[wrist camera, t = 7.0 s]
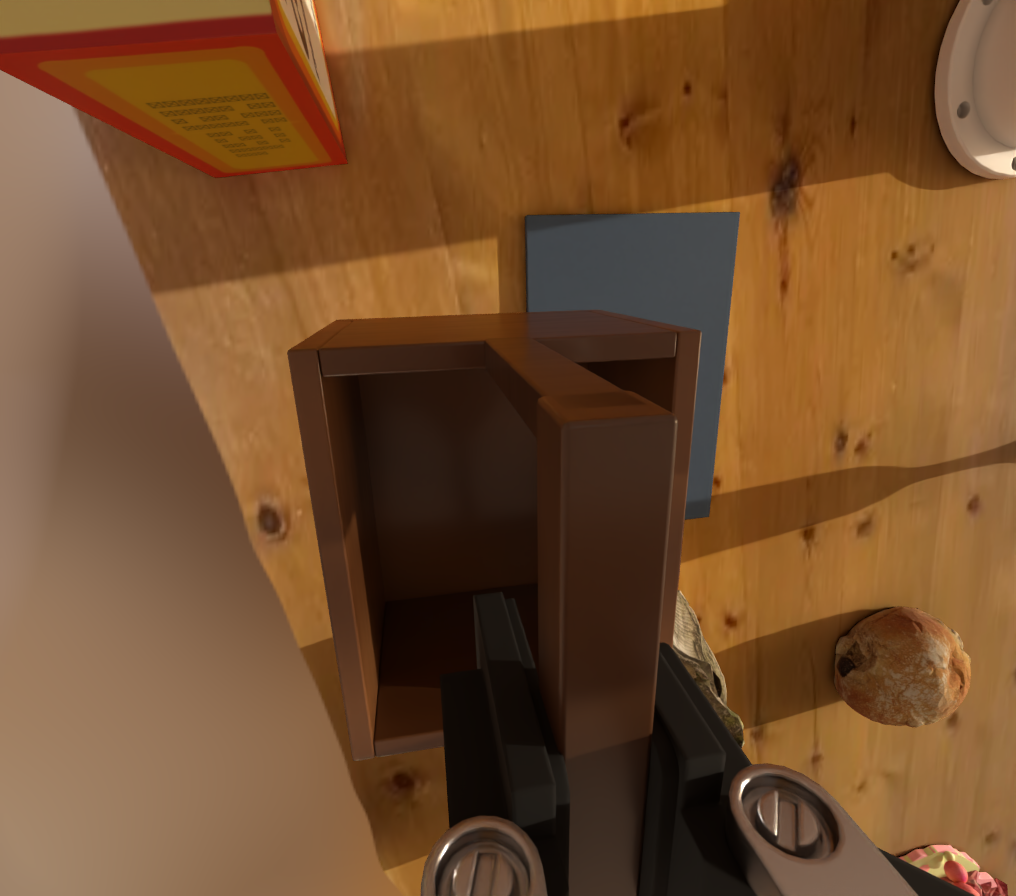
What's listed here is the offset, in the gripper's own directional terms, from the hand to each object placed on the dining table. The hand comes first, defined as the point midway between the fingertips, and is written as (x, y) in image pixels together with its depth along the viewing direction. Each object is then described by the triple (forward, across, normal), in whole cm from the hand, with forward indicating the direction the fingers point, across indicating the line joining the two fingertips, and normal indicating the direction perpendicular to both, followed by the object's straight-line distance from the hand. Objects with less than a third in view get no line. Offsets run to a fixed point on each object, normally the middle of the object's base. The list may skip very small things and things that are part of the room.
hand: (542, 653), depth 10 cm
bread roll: (+24, -36, +25) cm, 50 cm away
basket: (+10, 0, 0) cm, 10 cm away
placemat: (+23, -11, 0) cm, 26 cm away
